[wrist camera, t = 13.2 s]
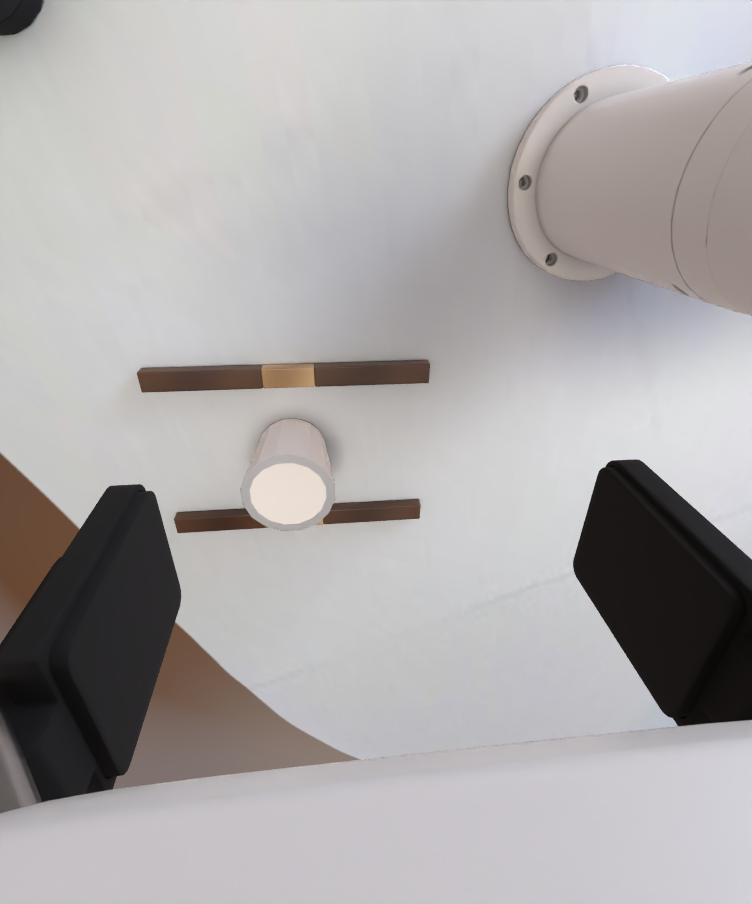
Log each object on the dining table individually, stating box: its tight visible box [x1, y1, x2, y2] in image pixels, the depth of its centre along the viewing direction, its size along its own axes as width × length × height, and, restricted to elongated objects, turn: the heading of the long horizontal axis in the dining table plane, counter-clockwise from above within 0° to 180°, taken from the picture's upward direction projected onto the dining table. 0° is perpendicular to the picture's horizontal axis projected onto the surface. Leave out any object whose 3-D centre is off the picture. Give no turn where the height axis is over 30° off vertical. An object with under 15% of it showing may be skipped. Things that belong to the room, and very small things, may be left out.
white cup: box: [240, 419, 335, 531], centre depth 38 cm, size 7×7×7 cm
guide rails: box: [137, 360, 430, 533], centre depth 41 cm, size 22×15×1 cm
